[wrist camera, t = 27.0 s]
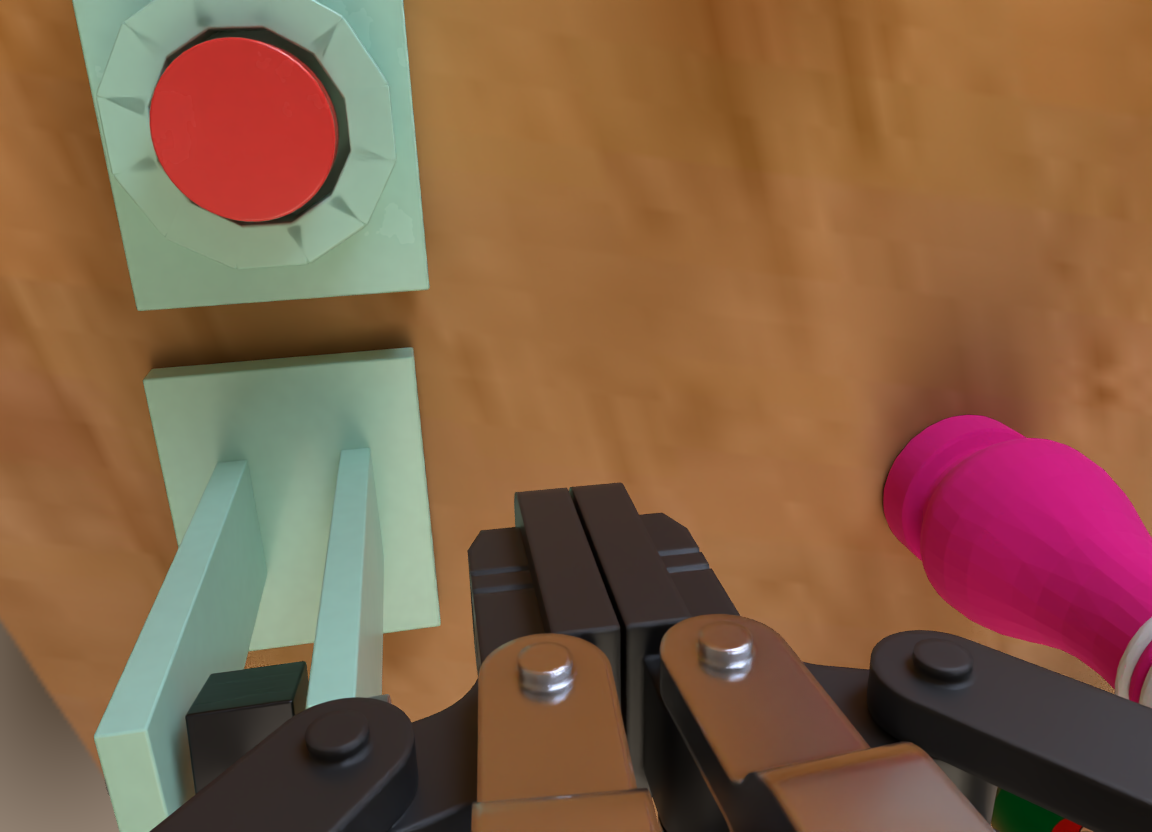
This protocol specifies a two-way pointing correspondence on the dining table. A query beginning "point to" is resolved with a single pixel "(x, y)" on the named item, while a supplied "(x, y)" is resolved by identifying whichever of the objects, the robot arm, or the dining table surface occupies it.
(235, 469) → the lever bracket
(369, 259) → the button housing
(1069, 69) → the dining table surface
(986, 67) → the dining table surface
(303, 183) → the button
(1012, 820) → the soda can
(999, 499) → the pepper mill
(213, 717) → the black ball lever
